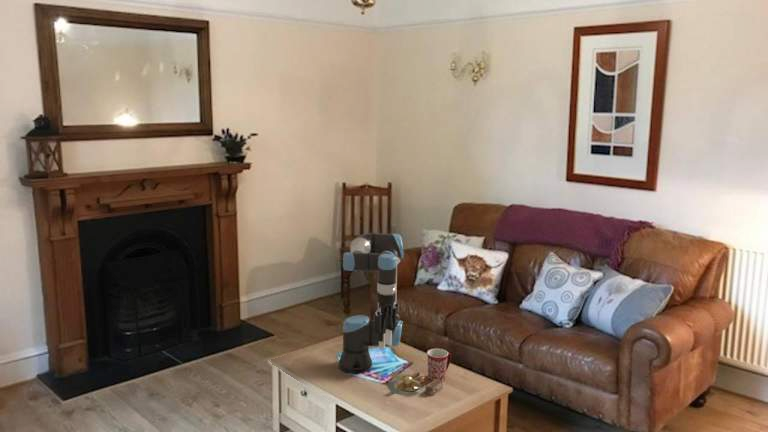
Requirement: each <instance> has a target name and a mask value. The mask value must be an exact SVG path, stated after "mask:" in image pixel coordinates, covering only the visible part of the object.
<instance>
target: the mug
mask: <svg viewBox="0 0 768 432" xmlns="http://www.w3.org/2000/svg"><path fill="white" fill-rule="evenodd" d="M426 354H427V374H428V375H427V378H428V380H429V381H430V382H432V381H434V380H435V379H438V380H441V381H442V383H443V382H444V381H445V380H446V375H447V370H448V368H449V367H450V364H451V360H452V354H451V353H450V352H448V351H447V350H446V349H443V348H432V349H428V350H427V352H426Z"/></svg>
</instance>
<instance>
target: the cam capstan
mask: <svg viewBox="0 0 768 432" xmlns="http://www.w3.org/2000/svg"><path fill="white" fill-rule="evenodd" d="M420 374H421V373H420V371H414V372H412V373H410V374H400V373H397V372H396V371H395V372H394V371H393V372H390V378H394V379H398V380H401V381H399V382H397V383H396V384H394V388H396V389H398V388H401V389H402V390H403V391H406V392H415V391H418V390H419V387H420V388H423V387H424V384H425V376H423V375H420ZM418 377H419V380H420V382H419V381H417V380H418V379H417V378H418ZM414 379H417V380H414Z"/></svg>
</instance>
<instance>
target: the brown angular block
mask: <svg viewBox="0 0 768 432" xmlns="http://www.w3.org/2000/svg"><path fill="white" fill-rule="evenodd" d="M425 386H426V389H425V395H428V396H431V397H432V396H433V395H435V394H436V393H438V392H440V391H441V390H443V382H442V381H441V380H438V379H435V380H434V381H430V382H429V383H428V384H425Z"/></svg>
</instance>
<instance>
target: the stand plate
mask: <svg viewBox="0 0 768 432" xmlns="http://www.w3.org/2000/svg"><path fill="white" fill-rule="evenodd" d="M414 380H417V381H419V382H420V379H417V378H415V379H414ZM399 381H401V380H398V379H396V378H394V379H392V380H391V381H390V382H389V383H388V384H387V388H388V390H389V391H390V392H392V393H393V394H396V395H399V396H404V397H405V396H408V397H409V396H411V397H412V396H418V395H420V394H423V393H424V392H426V384H425V383H424V387H423V388H420V387H419V390H418V391H415V392H406V391H403V390H402V389H401V388H398V389H396V388H394V384H396V383H397V382H399Z"/></svg>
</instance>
